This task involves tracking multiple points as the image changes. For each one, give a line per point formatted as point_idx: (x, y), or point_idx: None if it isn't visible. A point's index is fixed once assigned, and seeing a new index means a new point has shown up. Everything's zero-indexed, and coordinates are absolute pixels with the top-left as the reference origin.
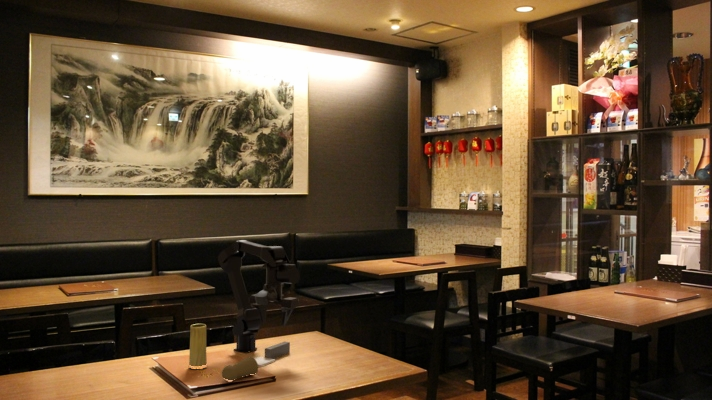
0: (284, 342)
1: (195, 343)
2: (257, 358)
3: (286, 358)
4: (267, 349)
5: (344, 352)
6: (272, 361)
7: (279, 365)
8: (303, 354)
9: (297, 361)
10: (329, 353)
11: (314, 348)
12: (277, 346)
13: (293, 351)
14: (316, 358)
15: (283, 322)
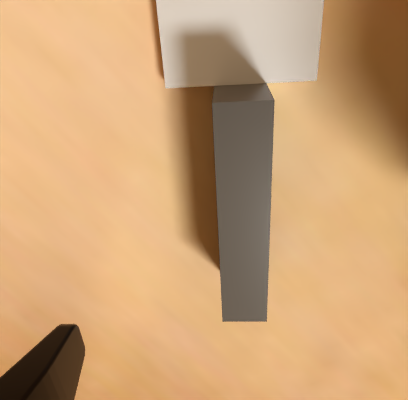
0: (250, 305)
1: None
2: (296, 22)
3: (157, 181)
4: (241, 100)
5: None
6: (163, 52)
7: (67, 16)
8: (140, 285)
9: (57, 166)
10: None
11: (173, 374)
12: (221, 206)
13: None
14: (31, 263)
15: (21, 366)
